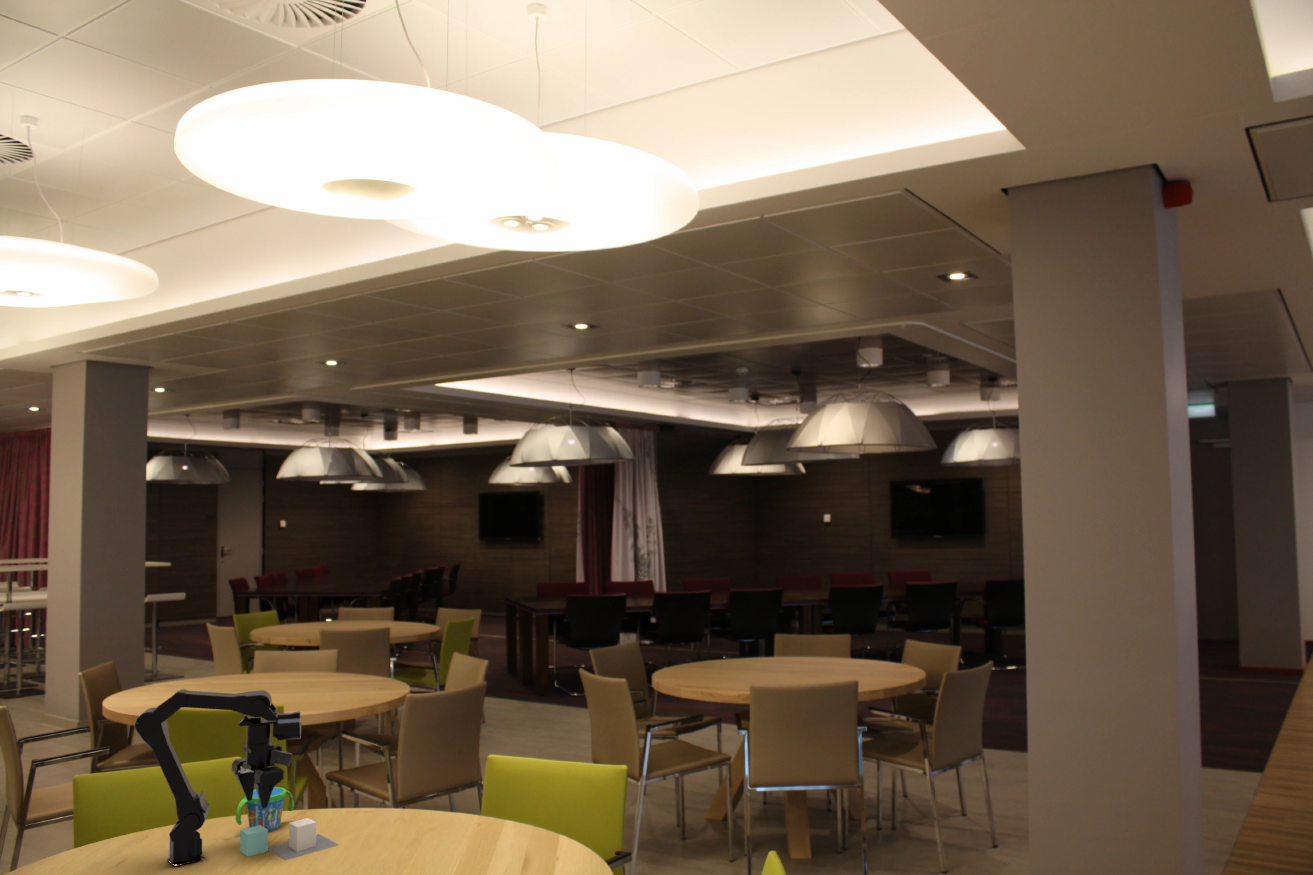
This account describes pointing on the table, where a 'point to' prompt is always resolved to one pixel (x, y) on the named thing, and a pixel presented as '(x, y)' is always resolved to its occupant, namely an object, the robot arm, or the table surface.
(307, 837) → the white block
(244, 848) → the teal block
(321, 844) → the mat
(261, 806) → the robot arm
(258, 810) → the snack cup
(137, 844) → the table surface
